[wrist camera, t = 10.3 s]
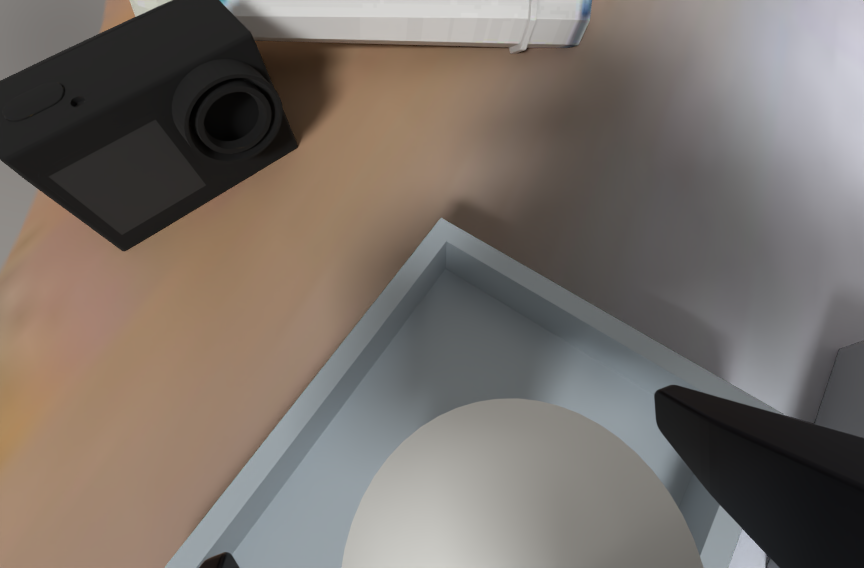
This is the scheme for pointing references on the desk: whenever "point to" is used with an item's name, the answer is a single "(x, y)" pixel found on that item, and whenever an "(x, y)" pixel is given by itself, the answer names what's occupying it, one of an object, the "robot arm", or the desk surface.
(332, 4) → the white long bar
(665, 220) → the desk surface
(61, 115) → the digital camera
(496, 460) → the light bulb
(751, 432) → the robot arm
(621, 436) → the tray
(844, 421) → the socket block
